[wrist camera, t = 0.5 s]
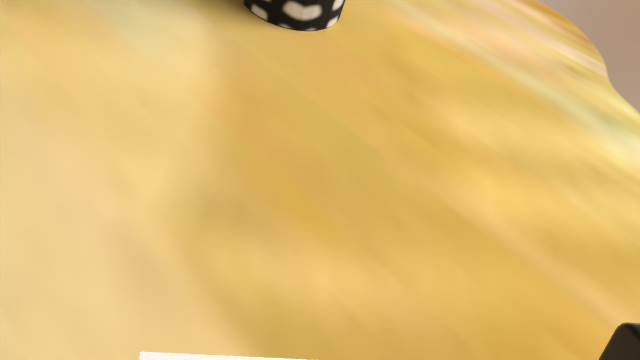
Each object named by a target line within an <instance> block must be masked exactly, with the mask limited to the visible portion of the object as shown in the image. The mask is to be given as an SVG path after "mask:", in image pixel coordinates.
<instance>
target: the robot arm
mask: <svg viewBox="0 0 640 360" xmlns="http://www.w3.org/2000/svg"><path fill="white" fill-rule="evenodd" d="M599 360H640V323H623V324H621V325H620V326H618V327H617V329H616V330H615V332H614V333H613V335H612V337H611V339H610V340H609V342H608V344H607V346H606V347H605V349H604V351H603V353H602V354H601V356H600V358H599Z"/></svg>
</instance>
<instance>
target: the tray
mask: <svg viewBox="0 0 640 360" xmlns="http://www.w3.org/2000/svg"><path fill="white" fill-rule="evenodd" d="M139 360H304V359H283V358H262V357H241V356H221V355H200V354H179V353H158V352H140V357H139Z"/></svg>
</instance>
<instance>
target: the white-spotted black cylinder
mask: <svg viewBox="0 0 640 360" xmlns="http://www.w3.org/2000/svg"><path fill="white" fill-rule="evenodd" d="M242 1H243V3H244V4H245V5H246V6H247V7H248V8H249V9H250V10H251V11H252V12H254V13H255V14H256V15H258V16H259V17H261V18H263V19H265V20H267V21H269V22H271V23H274V24H276V25H279V26H282V27H286V28H290V29H296V30H307V31H310V30H320V29H324V28H327V27H330V26H332V25H333V24H334V23H336V22H337V21H338V19H339V17H340V15H341V11H342V8H343V5H344V2H345V0H242Z"/></svg>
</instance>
